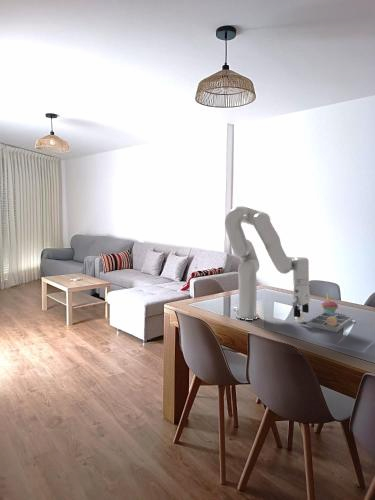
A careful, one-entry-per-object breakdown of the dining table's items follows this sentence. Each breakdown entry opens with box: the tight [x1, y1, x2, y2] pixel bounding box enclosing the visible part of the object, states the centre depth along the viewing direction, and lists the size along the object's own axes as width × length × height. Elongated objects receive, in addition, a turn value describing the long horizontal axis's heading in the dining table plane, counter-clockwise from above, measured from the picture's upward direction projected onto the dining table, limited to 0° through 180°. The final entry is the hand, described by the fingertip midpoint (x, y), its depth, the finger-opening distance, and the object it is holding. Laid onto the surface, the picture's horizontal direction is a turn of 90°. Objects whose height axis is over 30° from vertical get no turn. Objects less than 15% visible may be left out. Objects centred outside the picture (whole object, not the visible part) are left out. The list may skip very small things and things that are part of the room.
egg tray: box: [306, 311, 353, 333], centre depth 185 cm, size 15×22×2 cm
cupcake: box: [321, 293, 339, 314], centre depth 203 cm, size 9×8×12 cm
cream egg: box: [294, 311, 305, 324], centre depth 189 cm, size 4×4×6 cm
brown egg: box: [327, 316, 337, 327], centre depth 177 cm, size 4×4×6 cm
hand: (301, 314), depth 188 cm, fingers open, 9 cm apart
